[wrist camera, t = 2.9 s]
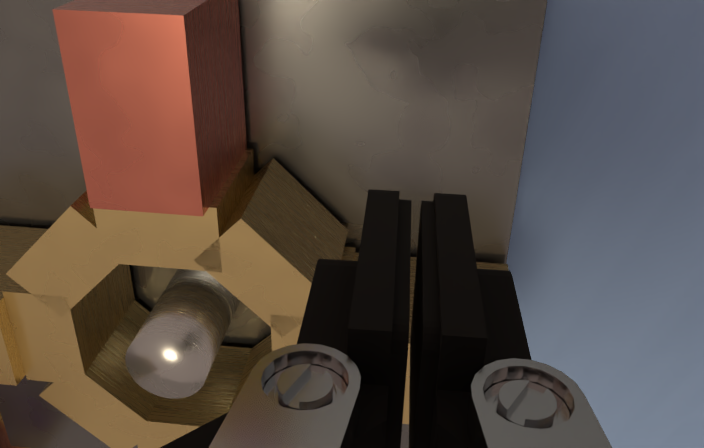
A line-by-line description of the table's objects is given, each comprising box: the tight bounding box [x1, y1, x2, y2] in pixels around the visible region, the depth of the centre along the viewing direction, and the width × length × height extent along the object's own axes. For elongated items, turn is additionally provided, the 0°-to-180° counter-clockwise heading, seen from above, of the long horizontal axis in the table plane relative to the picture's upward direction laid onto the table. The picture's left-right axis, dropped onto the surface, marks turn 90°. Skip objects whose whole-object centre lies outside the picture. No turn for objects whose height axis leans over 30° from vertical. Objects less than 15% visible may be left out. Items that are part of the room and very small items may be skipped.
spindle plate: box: [0, 0, 547, 448], centre depth 23 cm, size 20×20×8 cm
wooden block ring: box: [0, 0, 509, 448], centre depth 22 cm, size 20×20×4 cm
